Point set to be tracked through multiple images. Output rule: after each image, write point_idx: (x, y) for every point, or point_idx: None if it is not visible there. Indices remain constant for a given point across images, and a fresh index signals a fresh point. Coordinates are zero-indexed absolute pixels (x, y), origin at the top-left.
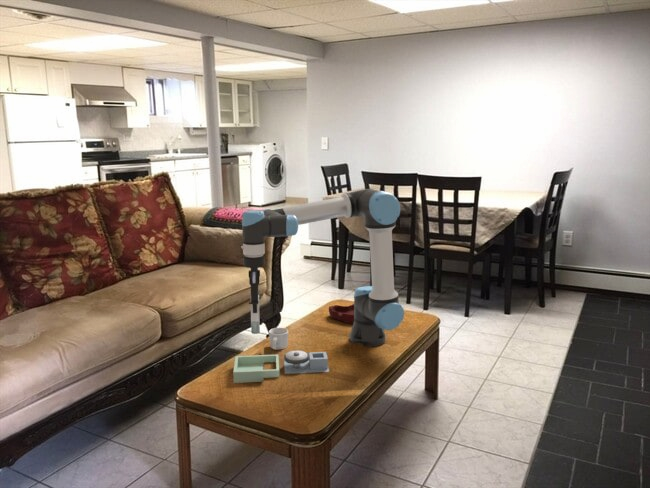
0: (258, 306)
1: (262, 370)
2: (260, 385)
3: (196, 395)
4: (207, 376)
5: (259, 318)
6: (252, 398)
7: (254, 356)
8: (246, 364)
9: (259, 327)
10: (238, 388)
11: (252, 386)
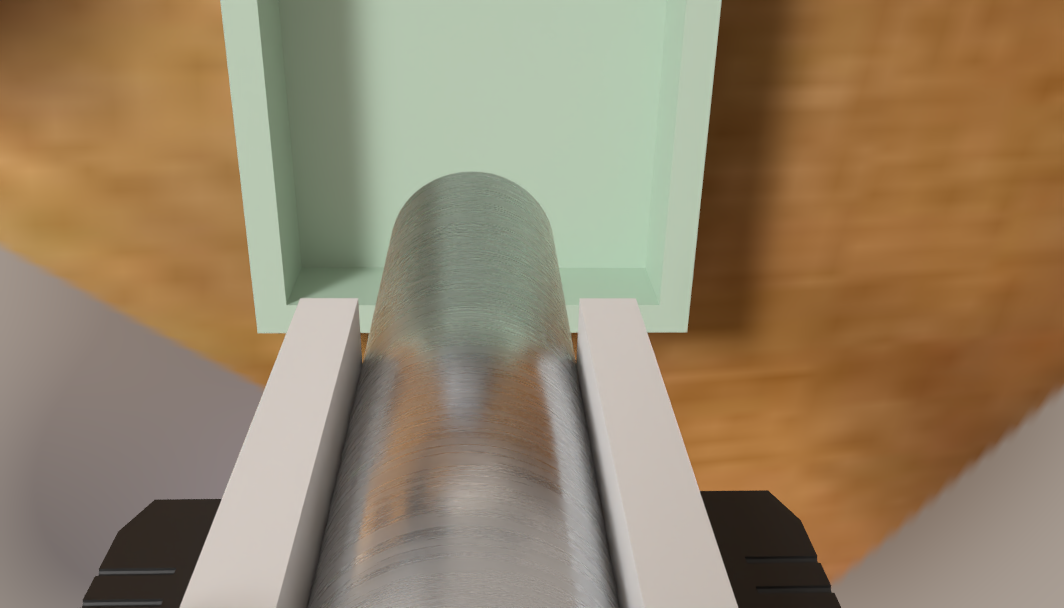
0: (724, 588)
1: (703, 17)
2: (775, 21)
3: (829, 534)
4: None
5: (467, 296)
6: (1028, 100)
7: (268, 119)
8: (297, 184)
9: (497, 213)
10: (788, 233)
11: (778, 104)
